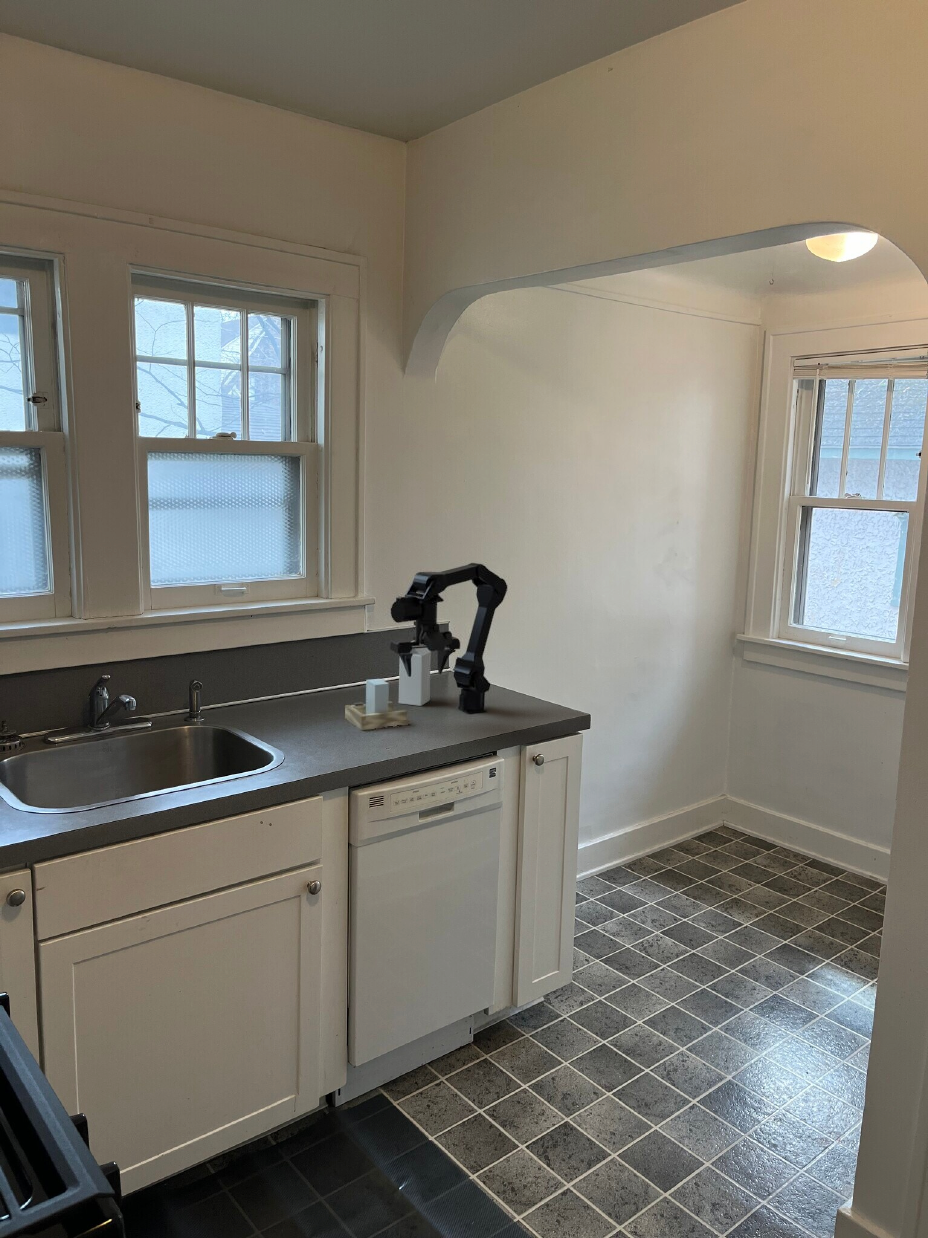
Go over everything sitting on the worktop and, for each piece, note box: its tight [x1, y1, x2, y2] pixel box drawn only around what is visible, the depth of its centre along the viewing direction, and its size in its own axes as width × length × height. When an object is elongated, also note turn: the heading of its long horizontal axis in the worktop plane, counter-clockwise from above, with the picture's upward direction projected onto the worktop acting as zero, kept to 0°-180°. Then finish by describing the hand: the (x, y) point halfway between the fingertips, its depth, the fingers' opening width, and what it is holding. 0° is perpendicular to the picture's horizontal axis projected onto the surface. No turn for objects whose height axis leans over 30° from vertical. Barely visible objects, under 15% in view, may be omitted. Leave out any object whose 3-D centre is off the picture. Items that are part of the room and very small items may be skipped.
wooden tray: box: [344, 700, 411, 731], centre depth 254 cm, size 14×12×4 cm
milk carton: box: [398, 640, 432, 707], centre depth 274 cm, size 7×7×19 cm
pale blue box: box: [365, 678, 390, 714], centre depth 253 cm, size 4×6×10 cm, turn 29°
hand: (424, 675), depth 254 cm, fingers open, 9 cm apart
